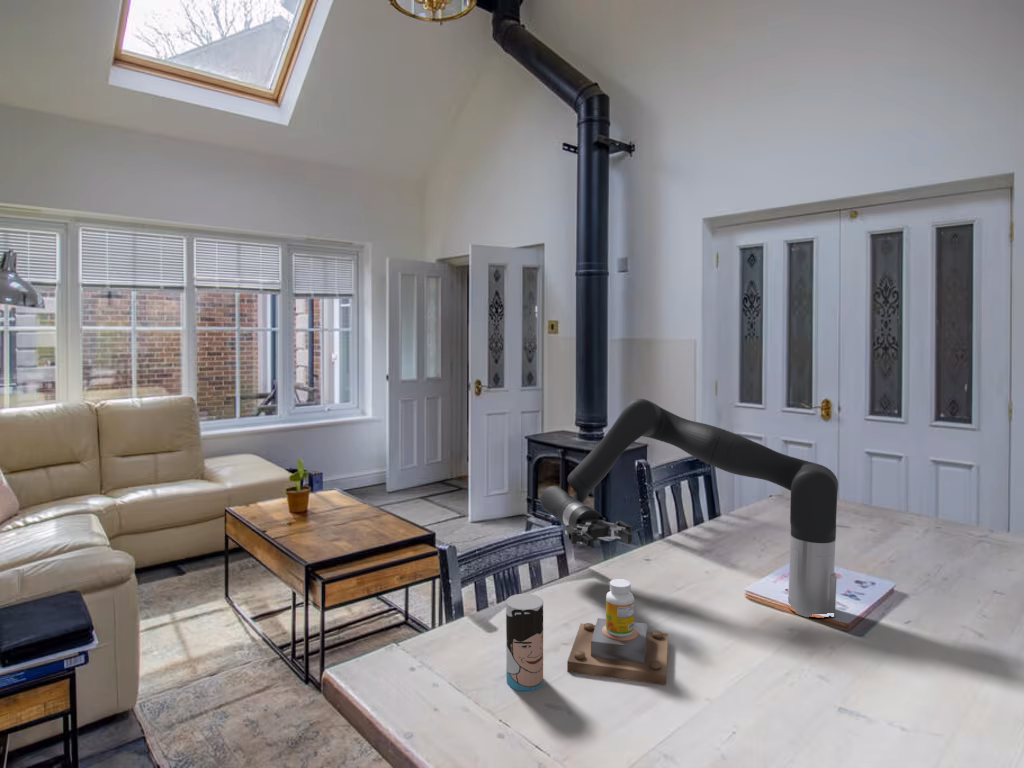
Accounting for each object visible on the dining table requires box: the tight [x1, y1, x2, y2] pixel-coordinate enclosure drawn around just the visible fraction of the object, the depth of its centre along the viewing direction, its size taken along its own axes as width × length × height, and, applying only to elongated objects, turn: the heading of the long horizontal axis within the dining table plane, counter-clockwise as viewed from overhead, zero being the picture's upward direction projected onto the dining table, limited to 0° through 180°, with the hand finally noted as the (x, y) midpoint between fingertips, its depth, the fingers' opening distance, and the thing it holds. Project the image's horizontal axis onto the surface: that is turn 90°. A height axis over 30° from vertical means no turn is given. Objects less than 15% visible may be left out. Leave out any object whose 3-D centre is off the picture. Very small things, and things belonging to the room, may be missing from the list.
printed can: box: [505, 593, 544, 692], centre depth 116 cm, size 7×7×15 cm
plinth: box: [566, 617, 669, 686], centre depth 125 cm, size 18×16×5 cm
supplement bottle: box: [605, 578, 635, 637], centre depth 124 cm, size 5×5×10 cm
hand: (611, 541), depth 136 cm, fingers open, 8 cm apart
